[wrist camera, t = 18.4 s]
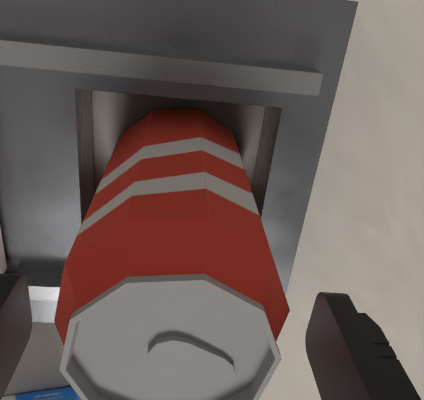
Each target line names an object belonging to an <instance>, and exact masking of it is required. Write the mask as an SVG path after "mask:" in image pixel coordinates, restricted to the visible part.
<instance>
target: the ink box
mask: <svg viewBox="0 0 424 400" xmlns="http://www.w3.org/2000/svg"><path fill="white" fill-rule="evenodd" d="M1 400H81V398H80V397H79V396H78V394H77V393H76V392H75V390H74V389H73V388H72V387H65V388H58V389H51V390H44V391H38V392H31V393H24V394H17V395H10V396H4V397H2V399H1Z"/></svg>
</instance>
